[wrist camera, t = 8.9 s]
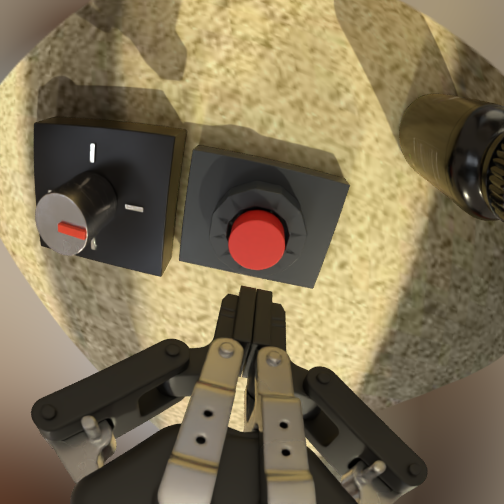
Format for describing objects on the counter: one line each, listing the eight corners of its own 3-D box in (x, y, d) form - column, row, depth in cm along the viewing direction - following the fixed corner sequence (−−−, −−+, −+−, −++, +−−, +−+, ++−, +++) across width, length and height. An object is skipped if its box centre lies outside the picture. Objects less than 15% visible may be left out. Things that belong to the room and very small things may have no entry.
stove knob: (68, 218, 22) (34, 248, 18) (70, 166, 20) (31, 188, 16) (115, 232, 22) (85, 266, 18) (120, 177, 20) (85, 203, 16)
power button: (227, 250, 23) (223, 263, 21) (236, 204, 21) (233, 214, 19) (277, 261, 23) (277, 275, 21) (290, 215, 21) (291, 227, 19)
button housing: (183, 250, 26) (172, 273, 23) (198, 144, 22) (186, 155, 19) (311, 277, 27) (315, 302, 24) (345, 178, 22) (356, 193, 19)
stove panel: (57, 231, 26) (39, 247, 24) (55, 116, 21) (32, 123, 18) (171, 257, 27) (160, 278, 24) (187, 129, 21) (174, 136, 19)
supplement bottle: (444, 77, 18) (557, 93, 7) (479, 151, 20) (580, 209, 10) (378, 120, 20) (469, 160, 10) (420, 193, 22) (503, 277, 12)
